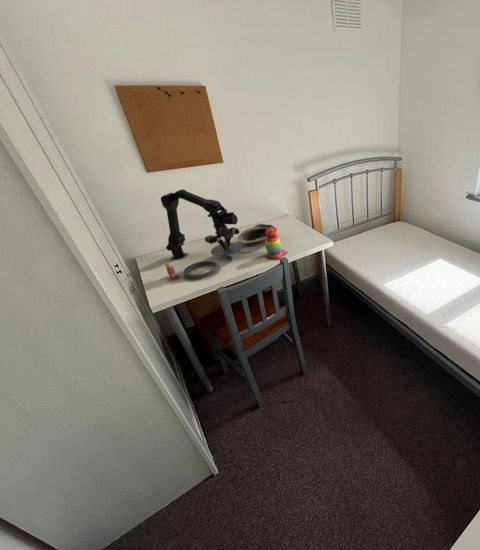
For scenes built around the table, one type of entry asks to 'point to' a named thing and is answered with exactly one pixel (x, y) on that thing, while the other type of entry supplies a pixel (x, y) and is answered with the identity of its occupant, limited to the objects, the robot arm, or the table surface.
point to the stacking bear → (273, 244)
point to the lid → (226, 249)
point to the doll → (171, 271)
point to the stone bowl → (254, 235)
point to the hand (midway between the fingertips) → (226, 248)
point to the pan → (204, 275)
